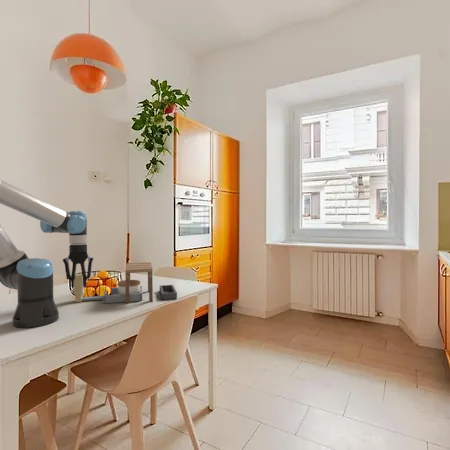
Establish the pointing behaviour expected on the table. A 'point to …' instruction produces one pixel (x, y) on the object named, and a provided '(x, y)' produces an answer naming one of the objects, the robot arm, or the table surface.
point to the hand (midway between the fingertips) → (79, 293)
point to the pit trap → (168, 292)
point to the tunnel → (136, 269)
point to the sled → (105, 297)
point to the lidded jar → (133, 286)
